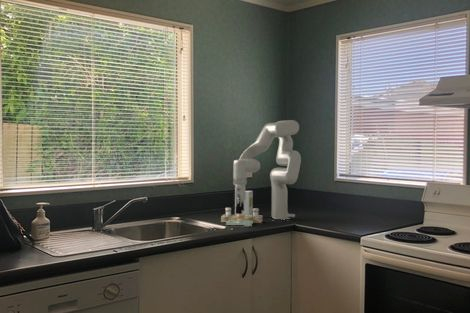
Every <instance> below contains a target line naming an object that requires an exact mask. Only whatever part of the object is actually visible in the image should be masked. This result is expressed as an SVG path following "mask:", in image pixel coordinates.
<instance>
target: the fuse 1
mask: <svg viewBox="0 0 470 313" xmlns="http://www.w3.org/2000/svg"><path fill="white" fill-rule="evenodd" d="M224 209H225V215H226V216H231V215H232V208H231V207H225V208H224Z"/></svg>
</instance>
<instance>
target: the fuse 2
mask: <svg viewBox="0 0 470 313" xmlns="http://www.w3.org/2000/svg"><path fill="white" fill-rule="evenodd" d="M259 211H260V209H259V208H257V207H256V208H255V207H254V208H253V217H258V215H259Z"/></svg>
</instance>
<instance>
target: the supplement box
mask: <svg viewBox="0 0 470 313" xmlns="http://www.w3.org/2000/svg"><path fill="white" fill-rule="evenodd" d="M253 192H254V191H253V190H245V195H246V201H245V202H244V211H243V214H242V215H253V206H254V205H253V204H254V203H253V202H254V200H253V198H254V196H253V195H254V193H253ZM234 215H237V214H236V202H235V201H234Z"/></svg>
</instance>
